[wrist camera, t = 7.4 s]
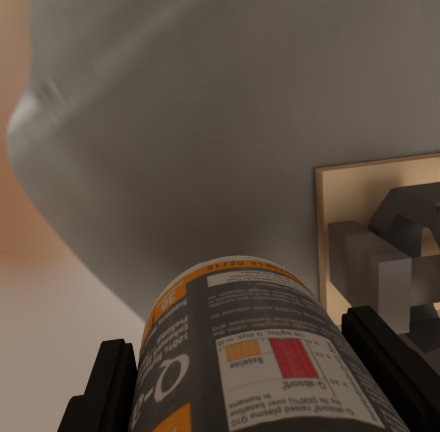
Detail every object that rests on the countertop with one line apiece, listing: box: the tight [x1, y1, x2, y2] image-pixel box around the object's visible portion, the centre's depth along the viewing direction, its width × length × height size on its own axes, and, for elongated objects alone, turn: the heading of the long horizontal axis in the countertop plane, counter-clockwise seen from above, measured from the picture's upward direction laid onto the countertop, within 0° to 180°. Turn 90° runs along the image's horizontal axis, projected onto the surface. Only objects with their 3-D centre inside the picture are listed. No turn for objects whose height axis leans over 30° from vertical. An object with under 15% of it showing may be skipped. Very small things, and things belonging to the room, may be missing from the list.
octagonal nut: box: [368, 182, 440, 376], centre depth 15 cm, size 7×2×7 cm, turn 6°
